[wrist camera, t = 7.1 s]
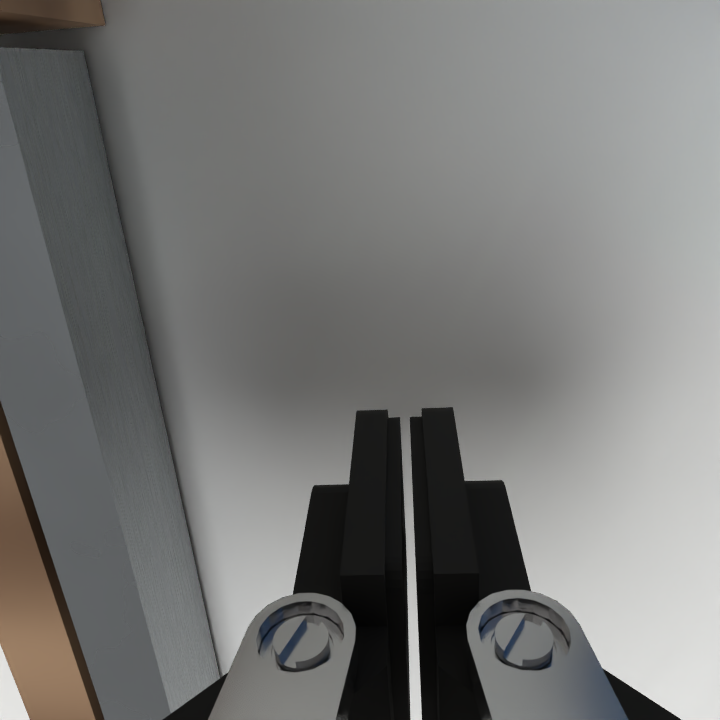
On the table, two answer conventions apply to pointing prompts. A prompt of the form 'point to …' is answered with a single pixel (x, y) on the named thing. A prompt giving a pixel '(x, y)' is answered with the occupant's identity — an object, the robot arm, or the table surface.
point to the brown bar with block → (19, 516)
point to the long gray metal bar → (91, 398)
